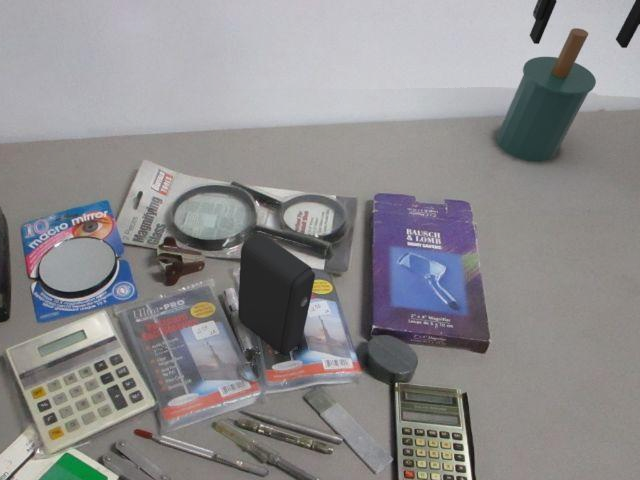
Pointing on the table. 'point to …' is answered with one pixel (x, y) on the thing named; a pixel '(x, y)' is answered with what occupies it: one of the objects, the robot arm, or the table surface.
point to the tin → (537, 122)
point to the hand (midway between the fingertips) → (577, 41)
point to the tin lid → (562, 69)
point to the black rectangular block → (274, 292)
